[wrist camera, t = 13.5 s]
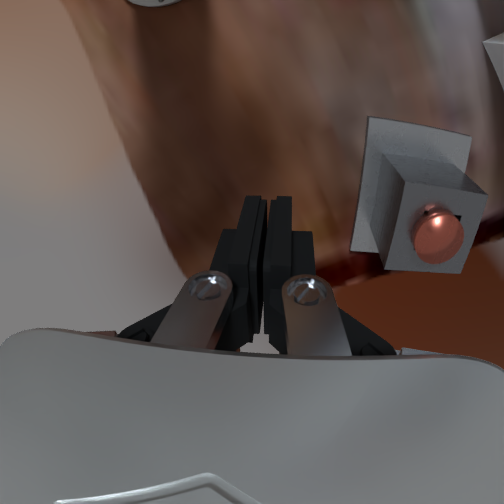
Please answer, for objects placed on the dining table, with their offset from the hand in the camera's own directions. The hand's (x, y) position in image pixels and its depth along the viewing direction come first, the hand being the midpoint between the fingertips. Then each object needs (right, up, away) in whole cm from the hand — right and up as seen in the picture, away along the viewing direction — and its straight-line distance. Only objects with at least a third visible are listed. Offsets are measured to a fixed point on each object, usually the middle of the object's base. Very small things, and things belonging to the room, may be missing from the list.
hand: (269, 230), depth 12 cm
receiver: (+19, +7, +24) cm, 32 cm away
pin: (+19, +6, +22) cm, 30 cm away
